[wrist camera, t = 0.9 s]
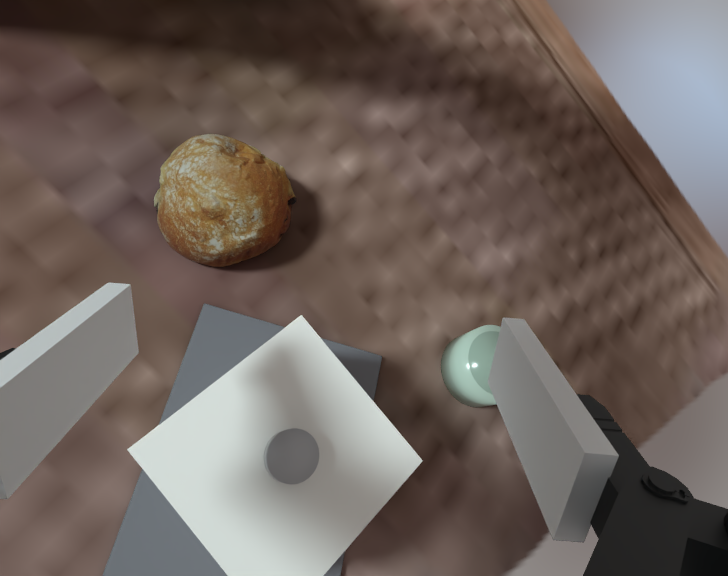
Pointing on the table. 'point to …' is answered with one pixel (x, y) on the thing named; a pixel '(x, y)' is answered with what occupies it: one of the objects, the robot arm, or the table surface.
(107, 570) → the rubber mat
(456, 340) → the bowl
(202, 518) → the box cover
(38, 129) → the table surface
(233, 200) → the bread roll
